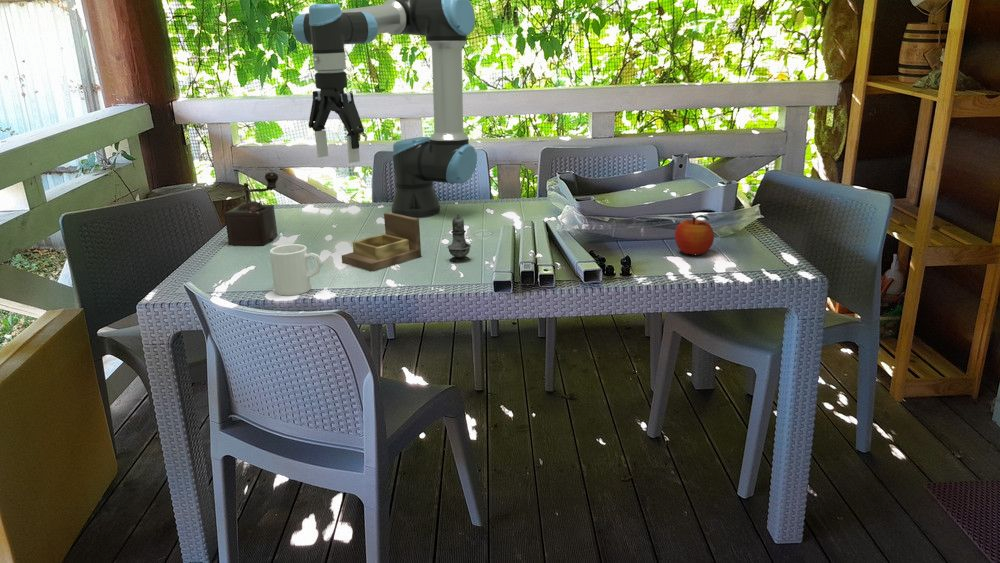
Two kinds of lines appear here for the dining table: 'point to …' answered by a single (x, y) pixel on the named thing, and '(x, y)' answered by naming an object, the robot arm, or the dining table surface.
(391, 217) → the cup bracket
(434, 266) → the dining table surface
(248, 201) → the manual coffee grinder
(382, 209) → the dining table surface
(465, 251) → the salt shaker
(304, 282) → the mug
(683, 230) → the fruit
